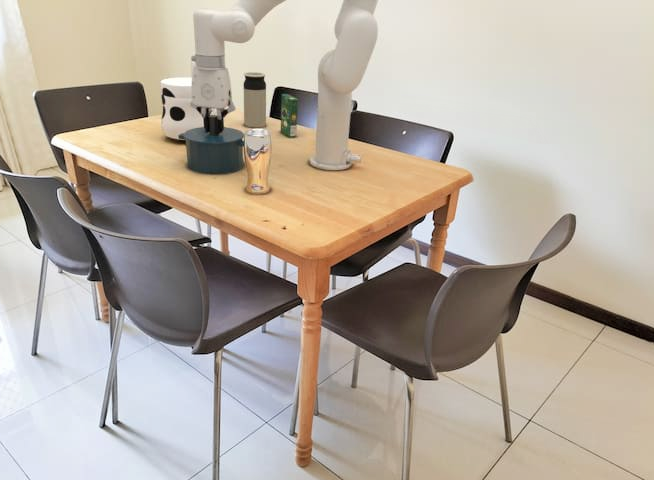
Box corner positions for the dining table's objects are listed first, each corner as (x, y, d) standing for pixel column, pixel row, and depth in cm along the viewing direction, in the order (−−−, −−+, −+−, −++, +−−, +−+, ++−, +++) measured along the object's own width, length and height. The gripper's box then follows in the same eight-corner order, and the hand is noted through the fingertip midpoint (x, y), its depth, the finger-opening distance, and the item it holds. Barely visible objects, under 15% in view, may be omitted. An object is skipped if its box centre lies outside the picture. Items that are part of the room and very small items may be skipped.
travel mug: (262, 129, 183) (261, 76, 174) (241, 126, 185) (240, 74, 176) (268, 123, 190) (268, 73, 181) (248, 121, 192) (247, 71, 183)
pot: (194, 153, 155) (192, 125, 151) (259, 161, 151) (258, 133, 147) (169, 168, 142) (166, 138, 138) (239, 178, 138) (239, 147, 134)
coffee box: (297, 137, 176) (298, 98, 170) (289, 138, 175) (290, 98, 168) (287, 131, 182) (288, 93, 176) (280, 132, 181) (280, 93, 175)
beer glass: (272, 185, 135) (272, 128, 127) (271, 195, 129) (271, 136, 121) (245, 184, 134) (244, 127, 127) (243, 194, 128) (242, 135, 121)
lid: (199, 127, 151) (198, 106, 148) (252, 134, 148) (252, 112, 145) (173, 142, 137) (171, 119, 134) (230, 149, 134) (229, 126, 131)
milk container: (226, 140, 169) (223, 84, 160) (178, 148, 158) (173, 88, 149) (199, 128, 180) (195, 75, 171) (153, 135, 169) (147, 79, 160)
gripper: (175, 61, 131) (181, 132, 140) (234, 66, 128) (236, 139, 137) (188, 57, 138) (193, 126, 147) (244, 62, 134) (246, 132, 144)
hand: (214, 131), depth 142 cm, fingers closed on lid, 2 cm apart
